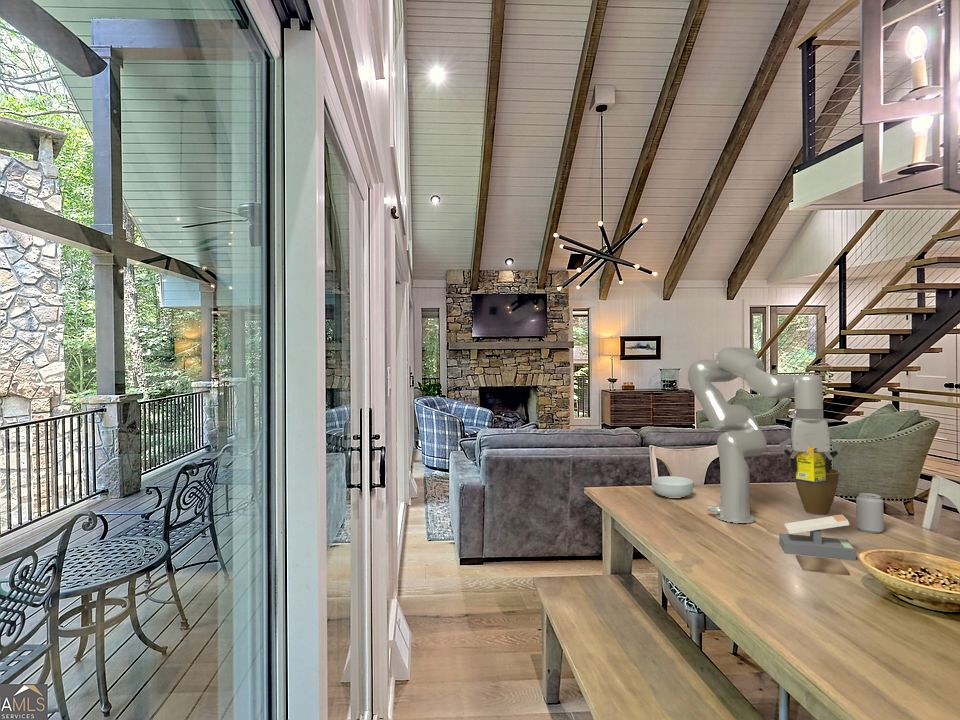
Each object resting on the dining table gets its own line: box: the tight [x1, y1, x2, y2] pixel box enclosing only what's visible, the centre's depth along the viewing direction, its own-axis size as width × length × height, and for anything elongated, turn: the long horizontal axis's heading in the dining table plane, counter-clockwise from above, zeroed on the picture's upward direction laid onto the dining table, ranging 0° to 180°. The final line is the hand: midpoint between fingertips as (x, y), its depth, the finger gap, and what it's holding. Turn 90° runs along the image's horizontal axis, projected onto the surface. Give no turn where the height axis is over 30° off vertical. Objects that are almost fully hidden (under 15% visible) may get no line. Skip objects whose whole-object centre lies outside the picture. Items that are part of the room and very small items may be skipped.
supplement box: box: [795, 447, 826, 484], centre depth 173 cm, size 6×6×11 cm
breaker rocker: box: [784, 514, 850, 535], centre depth 168 cm, size 16×7×2 cm, turn 70°
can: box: [855, 492, 885, 534], centre depth 188 cm, size 8×8×12 cm
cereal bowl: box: [651, 475, 695, 498], centre depth 236 cm, size 17×17×7 cm
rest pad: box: [795, 554, 851, 576], centre depth 156 cm, size 11×11×1 cm
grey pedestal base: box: [778, 529, 857, 561], centre depth 168 cm, size 18×10×7 cm, turn 70°
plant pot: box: [792, 468, 840, 516], centre depth 211 cm, size 15×15×16 cm
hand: (810, 471), depth 173 cm, fingers closed on supplement box, 8 cm apart
